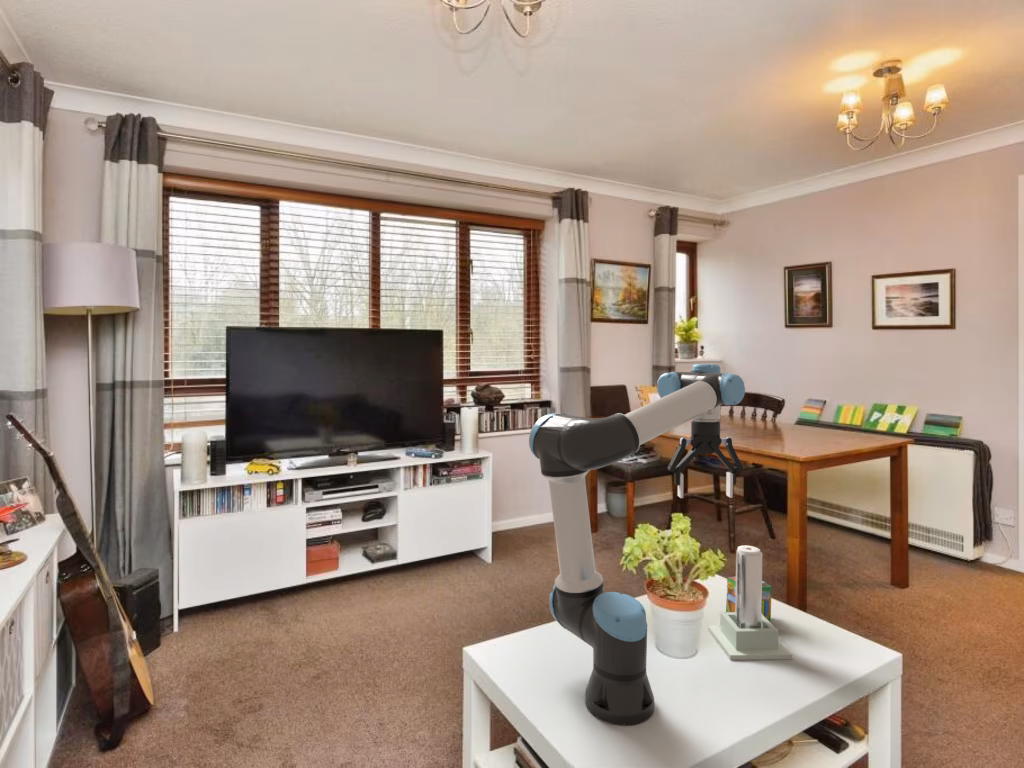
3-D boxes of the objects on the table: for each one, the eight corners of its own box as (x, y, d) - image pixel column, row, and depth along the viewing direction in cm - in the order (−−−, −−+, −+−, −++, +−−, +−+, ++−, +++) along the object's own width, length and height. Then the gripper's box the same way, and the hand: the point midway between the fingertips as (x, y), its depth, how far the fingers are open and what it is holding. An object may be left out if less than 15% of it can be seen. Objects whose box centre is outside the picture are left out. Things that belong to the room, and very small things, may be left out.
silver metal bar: (763, 646, 152) (765, 553, 150) (737, 644, 153) (738, 551, 152) (757, 634, 158) (759, 544, 157) (732, 632, 159) (734, 543, 158)
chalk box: (725, 614, 173) (725, 565, 173) (752, 611, 175) (753, 563, 174) (743, 628, 164) (744, 577, 164) (772, 625, 166) (773, 575, 165)
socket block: (730, 659, 148) (730, 636, 147) (708, 629, 164) (708, 608, 163) (792, 659, 148) (792, 635, 147) (764, 629, 164) (764, 607, 163)
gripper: (664, 422, 154) (663, 500, 156) (756, 421, 155) (755, 499, 156) (656, 419, 162) (656, 493, 163) (745, 418, 162) (744, 492, 163)
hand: (704, 496), depth 159 cm, fingers open, 13 cm apart
